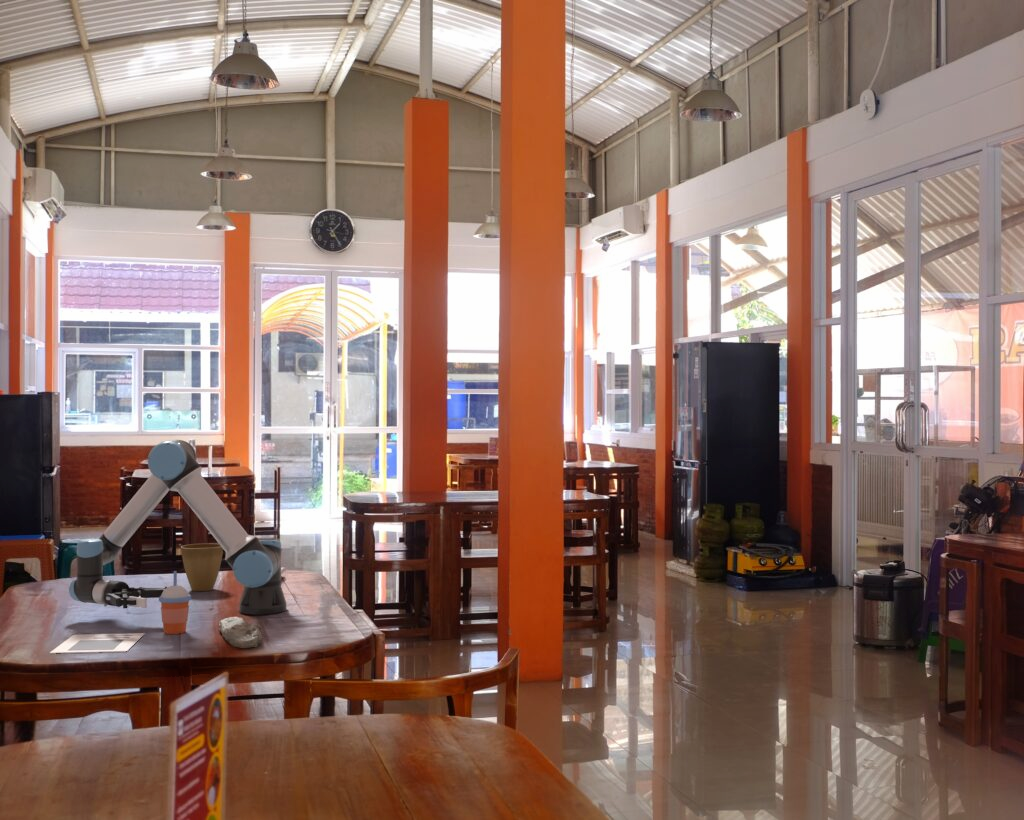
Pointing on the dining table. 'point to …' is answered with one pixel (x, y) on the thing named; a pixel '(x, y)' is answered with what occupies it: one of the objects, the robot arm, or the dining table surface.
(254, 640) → the elongated rock
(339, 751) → the dining table surface
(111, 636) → the picture frame
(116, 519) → the robot arm
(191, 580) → the plant pot
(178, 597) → the cup with straw
